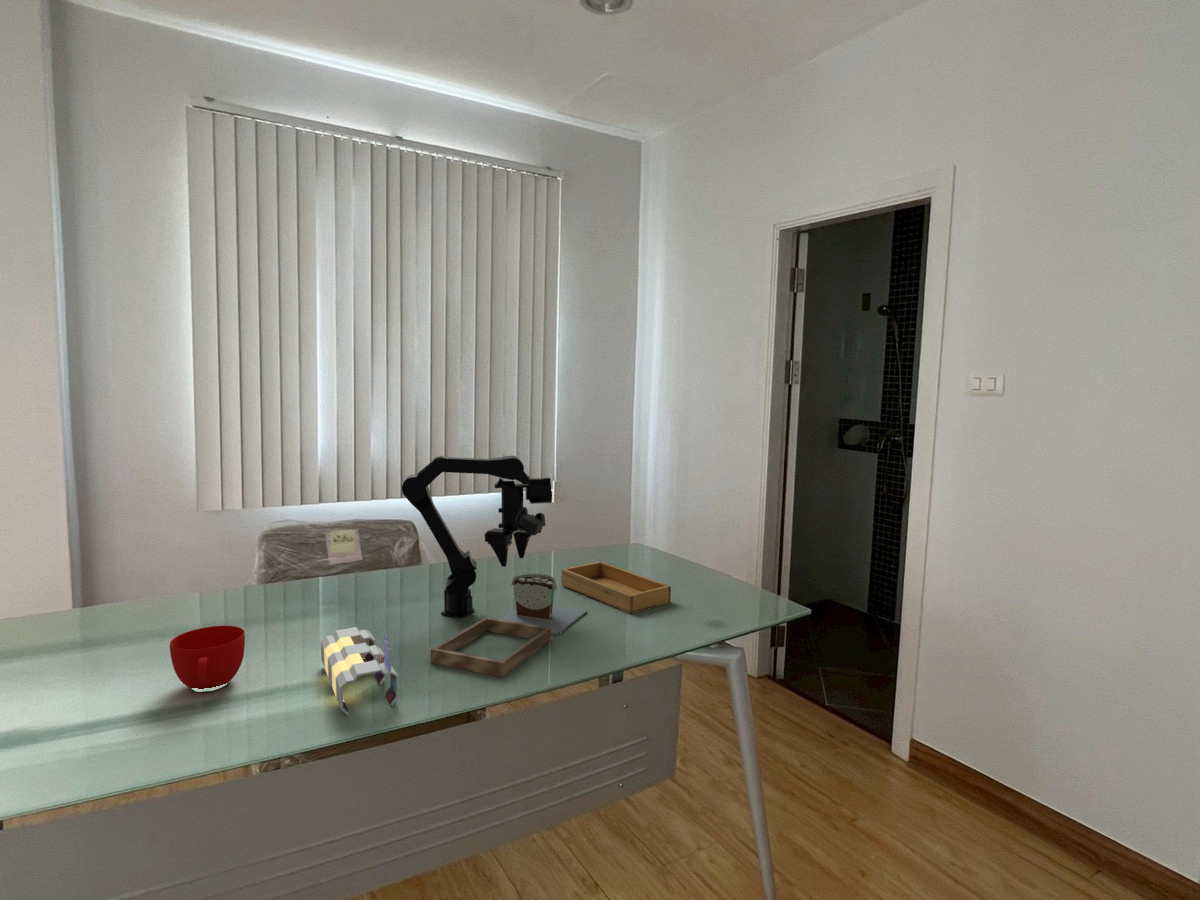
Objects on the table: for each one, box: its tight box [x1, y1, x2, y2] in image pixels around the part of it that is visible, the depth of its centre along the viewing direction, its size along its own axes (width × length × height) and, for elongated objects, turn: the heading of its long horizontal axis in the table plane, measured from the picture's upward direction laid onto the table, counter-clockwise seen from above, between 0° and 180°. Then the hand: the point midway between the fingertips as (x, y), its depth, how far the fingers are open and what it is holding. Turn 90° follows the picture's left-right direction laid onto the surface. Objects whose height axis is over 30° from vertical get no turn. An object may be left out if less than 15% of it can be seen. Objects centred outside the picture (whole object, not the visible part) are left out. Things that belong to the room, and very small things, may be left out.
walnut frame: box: [430, 616, 552, 678], centre depth 154 cm, size 18×22×3 cm
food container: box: [511, 573, 558, 621], centre depth 176 cm, size 12×6×10 cm, turn 69°
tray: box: [561, 561, 672, 614], centre depth 196 cm, size 31×15×6 cm, turn 39°
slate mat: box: [498, 604, 588, 636], centre depth 175 cm, size 18×18×1 cm
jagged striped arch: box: [320, 626, 400, 716], centre depth 136 cm, size 25×10×13 cm, turn 30°
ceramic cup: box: [169, 625, 246, 689], centre depth 134 cm, size 13×17×10 cm
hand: (512, 562), depth 181 cm, fingers open, 9 cm apart
